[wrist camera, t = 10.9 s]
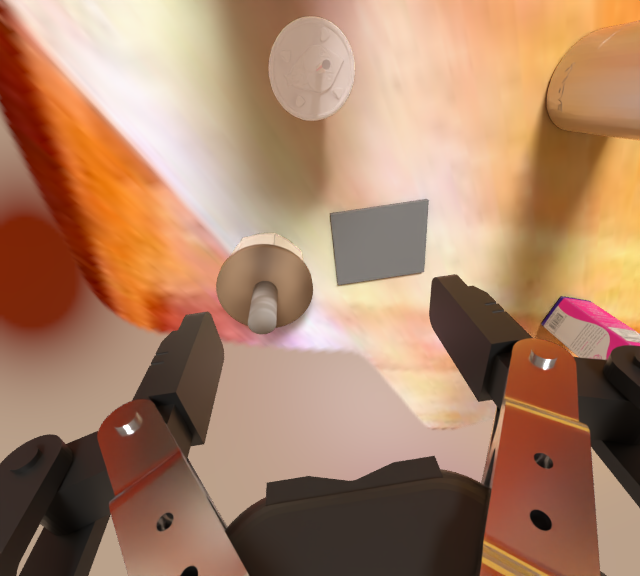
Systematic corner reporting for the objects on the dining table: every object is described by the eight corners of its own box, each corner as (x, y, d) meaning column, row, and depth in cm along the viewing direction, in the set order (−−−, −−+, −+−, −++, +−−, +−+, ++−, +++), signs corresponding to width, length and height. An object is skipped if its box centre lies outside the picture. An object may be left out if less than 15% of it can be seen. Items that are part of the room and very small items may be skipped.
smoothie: (344, 102, 32) (378, 107, 21) (286, 123, 33) (286, 140, 21) (327, 25, 29) (355, -22, 17) (262, 51, 30) (246, 22, 18)
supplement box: (569, 328, 53) (633, 381, 43) (539, 324, 52) (598, 377, 42) (591, 300, 50) (665, 350, 40) (561, 294, 49) (629, 344, 39)
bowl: (297, 227, 39) (299, 243, 35) (308, 292, 44) (310, 313, 40) (220, 239, 39) (212, 256, 35) (240, 302, 44) (235, 324, 40)
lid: (305, 237, 34) (309, 266, 29) (317, 316, 40) (323, 355, 34) (205, 251, 34) (188, 285, 28) (232, 329, 40) (223, 370, 34)
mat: (426, 199, 39) (428, 200, 38) (422, 269, 44) (424, 271, 43) (330, 213, 38) (330, 215, 38) (337, 282, 44) (338, 285, 43)
